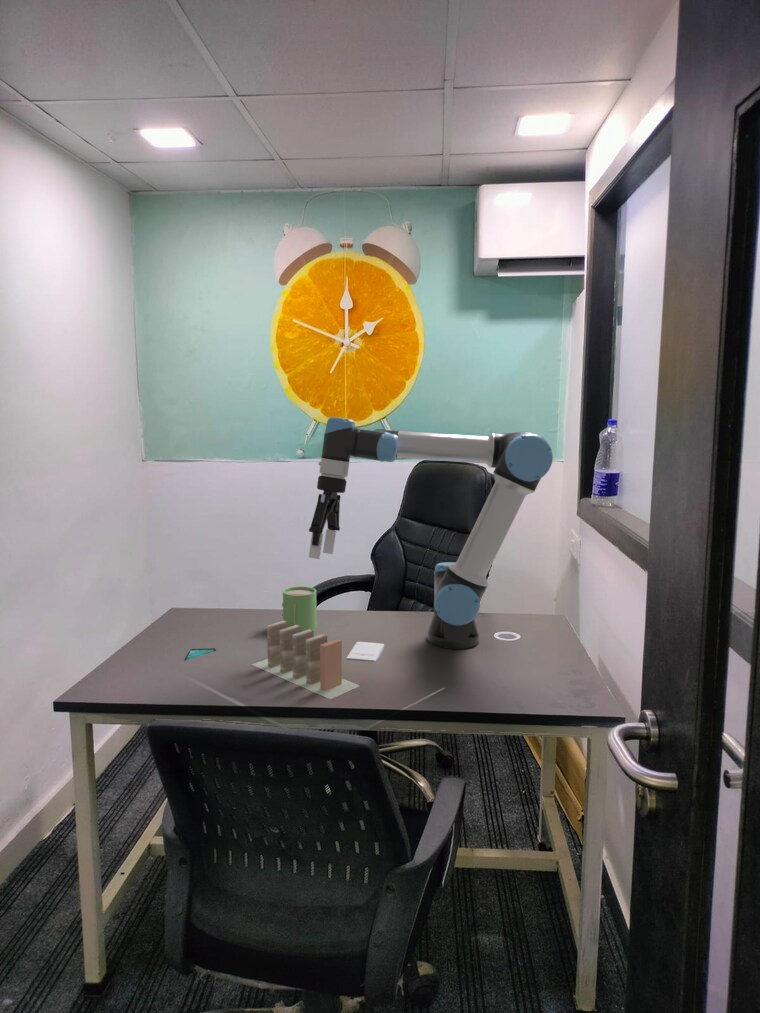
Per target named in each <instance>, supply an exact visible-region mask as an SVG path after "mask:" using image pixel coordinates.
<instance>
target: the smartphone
mask: <svg viewBox="0 0 760 1013" xmlns="http://www.w3.org/2000/svg"><path fill="white" fill-rule="evenodd" d="M216 651H217V649H216V648H192V649H190V650H189V651H188V653H187V654H186V657H184V658H185V659H184V661H188V660H191V659H193V658H194V659H195V658H197V657H201V656H204V655H207V654H210V653H213V652H216Z"/></svg>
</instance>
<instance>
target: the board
mask: <svg viewBox="0 0 760 1013" xmlns="http://www.w3.org/2000/svg"><path fill="white" fill-rule="evenodd" d="M251 665H252V666H253V667H256V668H258V669H260V670H263V671H265V672H268V673H270V674H271V675H274V676H276V677H279V678H281V679H284V680H285V681H288V682H290V683H292V684H294V685H297V686H299V687H302V688H304V689H306V690H308V691H310V692H313V693H315V694H317V695H319V696H321V697H323V698H326V699H328V700H333V699H335V698H337V697H339V696H341V695H344V694H345V693H348V692H350V691H352V690H355V689H357V688H359V687H360V685H359V684H357V683H355V682H352V681H349V680H347V679H344V678H342V684H340V685H338V686H335V687H333V688H331V689H328V690H326V691H324V690H322V689H320V681H318V682H316V683H314V684H311V685H310V684H308V683H306V676H303V677H301V678H298V679H296V678H294V677H293V670H292V671H289V672H287V673H282V672H280V665H278V666H276V667H273V668H271V667H269V666H268V658H265V659H263V660H260V661H258V662H253V663H251Z"/></svg>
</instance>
